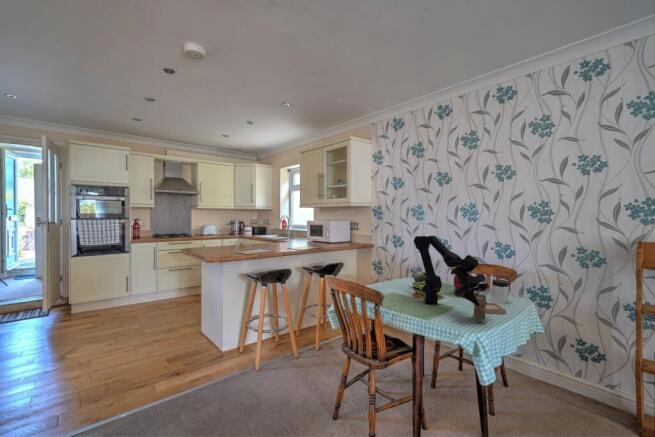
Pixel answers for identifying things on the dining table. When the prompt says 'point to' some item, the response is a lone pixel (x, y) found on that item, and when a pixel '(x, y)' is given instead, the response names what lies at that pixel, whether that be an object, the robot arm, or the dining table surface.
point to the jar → (499, 291)
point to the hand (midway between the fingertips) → (482, 305)
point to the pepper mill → (480, 310)
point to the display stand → (494, 309)
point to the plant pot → (457, 283)
